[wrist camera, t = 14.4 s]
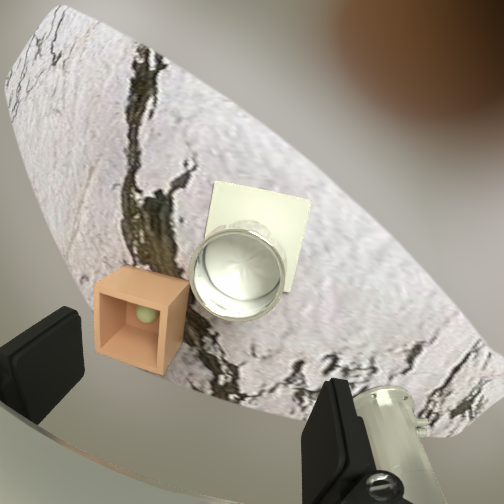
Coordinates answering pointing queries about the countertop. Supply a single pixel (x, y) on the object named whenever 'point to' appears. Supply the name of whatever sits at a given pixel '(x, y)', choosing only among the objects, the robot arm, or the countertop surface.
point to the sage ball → (146, 314)
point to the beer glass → (240, 268)
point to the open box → (130, 327)
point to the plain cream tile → (272, 203)
